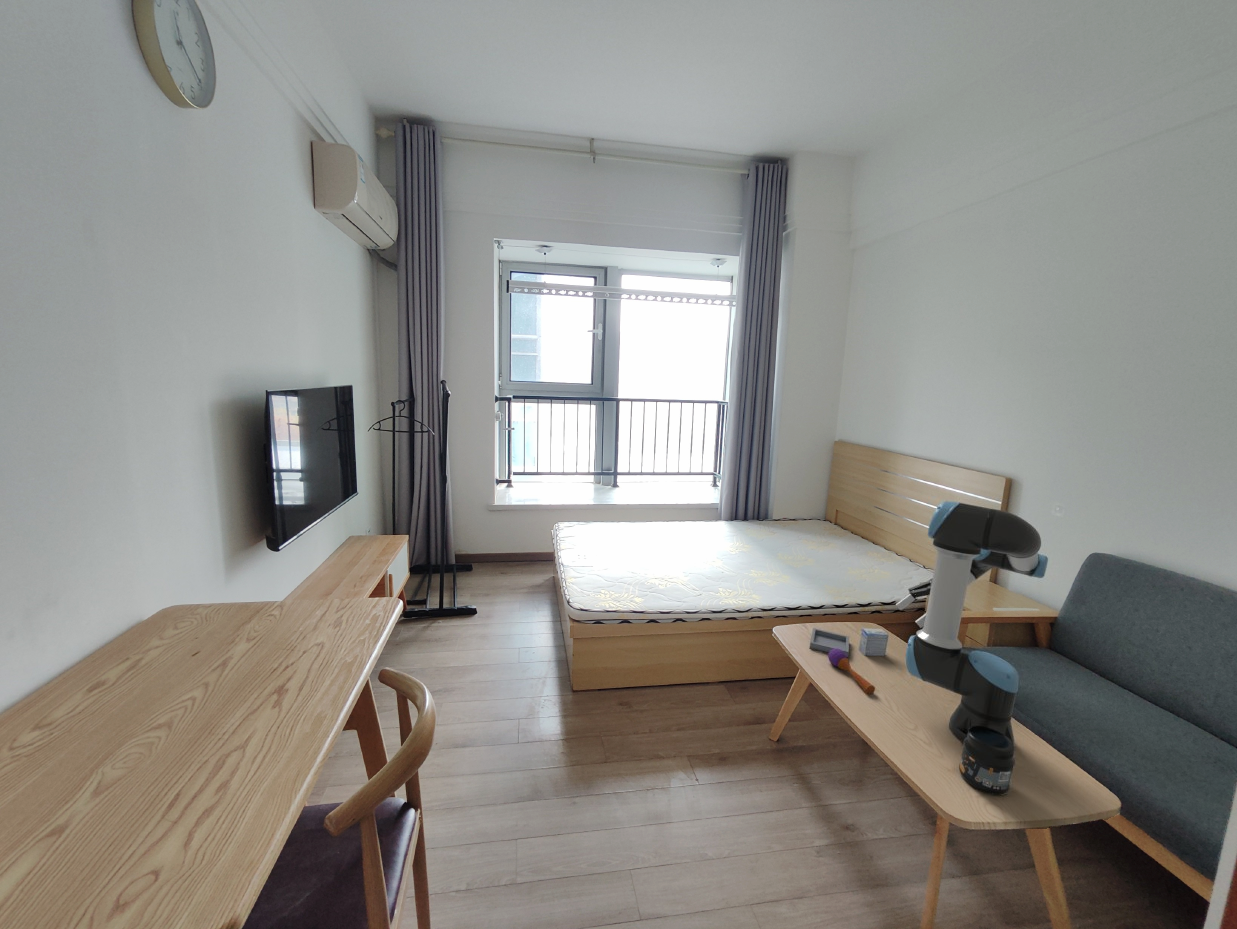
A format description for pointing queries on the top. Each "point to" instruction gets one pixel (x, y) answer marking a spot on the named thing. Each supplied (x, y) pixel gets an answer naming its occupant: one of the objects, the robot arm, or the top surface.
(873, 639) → the medicine box
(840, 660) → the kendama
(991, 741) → the supplement container
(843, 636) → the tray
